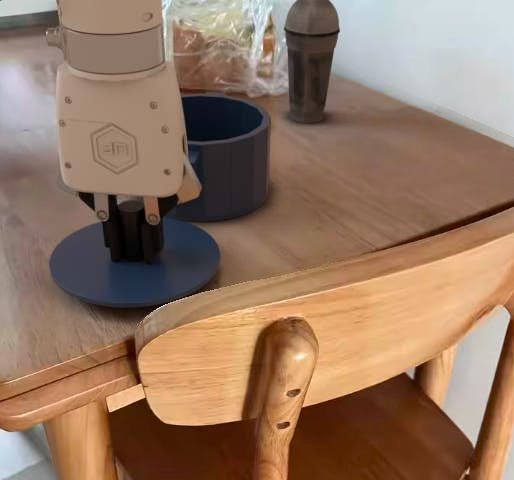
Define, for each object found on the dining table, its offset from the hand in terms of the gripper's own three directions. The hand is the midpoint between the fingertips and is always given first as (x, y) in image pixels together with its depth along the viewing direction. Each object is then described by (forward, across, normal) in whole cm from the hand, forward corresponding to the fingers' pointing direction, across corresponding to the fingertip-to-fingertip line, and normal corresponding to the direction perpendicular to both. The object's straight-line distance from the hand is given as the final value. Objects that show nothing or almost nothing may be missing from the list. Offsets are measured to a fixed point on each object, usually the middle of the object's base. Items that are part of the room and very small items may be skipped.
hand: (135, 253), depth 67 cm
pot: (+2, +3, +18) cm, 18 cm away
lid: (+1, 0, 0) cm, 1 cm away
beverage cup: (+2, +13, +43) cm, 45 cm away
